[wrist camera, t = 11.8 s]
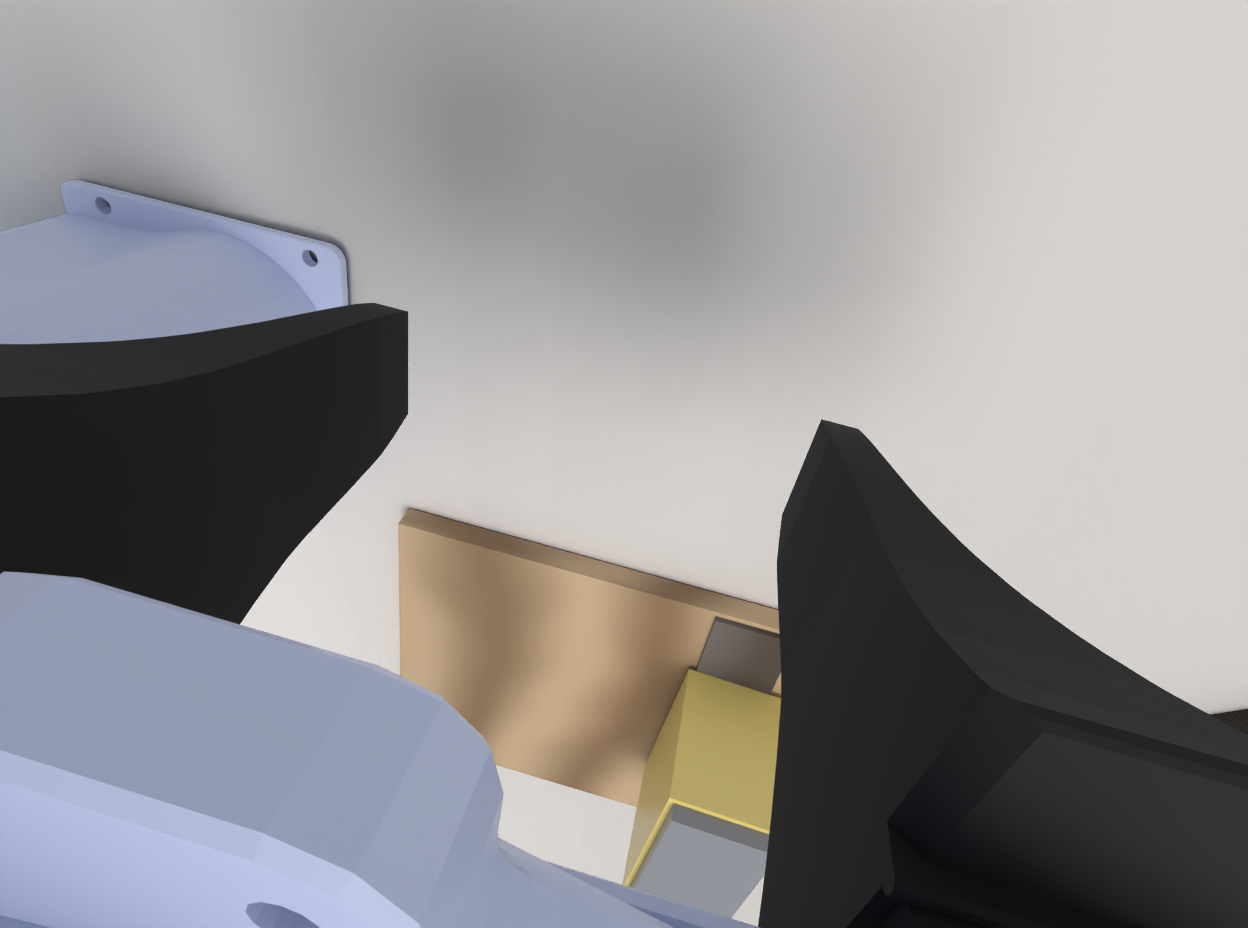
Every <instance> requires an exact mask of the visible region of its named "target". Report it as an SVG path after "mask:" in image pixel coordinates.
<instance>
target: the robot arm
mask: <svg viewBox="0 0 1248 928" xmlns="http://www.w3.org/2000/svg"><path fill="white" fill-rule="evenodd" d="M61 196H62V199H63V203H64V207H65V210H66V214H65V215H61V216H57V217H53V218H49V219H45V220H41V221H37V222H34V223H30V224H26V225H22V226H18V227H14V228H10V229H6V230H2V231H0V928H1248V735H1246V734H1244V733H1242V732H1240V731H1238V730H1237V729H1235V728H1233V727H1231V726H1229V725H1227V724H1226V723H1224V722H1222V721H1220V720H1218V719H1216V718H1215V717H1213V716H1211V715H1209V714H1207V713H1205V712H1204V711H1202V710H1200V709H1198V708H1196V707H1194V706H1192V705H1191V704H1189V703H1187V702H1185V701H1183V700H1181V699H1180V698H1178V697H1176V696H1174V695H1172V694H1170V693H1169V692H1167V691H1165V690H1163V689H1162V688H1160V687H1158V686H1157V685H1155V684H1153V683H1152V682H1150V681H1148V680H1147V679H1145V678H1144V677H1142V676H1140V675H1139V674H1137V673H1135V672H1134V671H1132V670H1131V669H1129V668H1127V667H1126V666H1124V665H1123V664H1121V663H1119V662H1118V661H1116V660H1114V659H1113V658H1111V657H1110V656H1108V655H1106V654H1105V653H1103V652H1102V651H1100V650H1099V649H1097V648H1096V647H1094V646H1093V645H1091V644H1090V643H1088V642H1087V641H1085V640H1084V639H1082V638H1081V637H1079V636H1078V635H1076V634H1075V633H1073V632H1072V631H1070V630H1069V629H1068V628H1066V627H1065V626H1064V625H1062V624H1061V623H1059V622H1058V621H1057V620H1055V619H1054V618H1052V617H1051V616H1050V615H1048V614H1047V613H1046V612H1044V611H1043V610H1041V609H1040V608H1039V607H1037V606H1036V605H1035V604H1033V603H1032V602H1031V601H1029V600H1028V599H1027V598H1025V597H1024V596H1023V595H1022V594H1020V593H1019V592H1018V591H1016V590H1015V589H1014V588H1013V587H1011V586H1010V585H1009V584H1008V583H1007V582H1005V581H1004V580H1003V579H1002V578H1001V577H1000V576H998V575H997V574H996V573H995V572H994V571H993V570H991V569H990V568H989V567H988V566H987V565H986V564H984V563H983V562H982V561H981V560H980V559H979V558H977V557H976V556H975V555H974V554H973V553H972V552H971V551H970V550H969V549H968V548H967V547H965V546H964V545H963V544H962V543H961V542H960V541H959V540H958V539H957V538H956V537H955V536H954V535H953V534H952V533H951V532H950V531H949V530H948V529H947V528H946V527H945V526H944V525H943V524H942V523H941V522H940V521H939V520H938V519H937V518H936V517H935V515H934V514H933V513H932V512H931V511H930V510H929V509H928V508H927V507H926V506H925V505H924V504H923V502H922V501H921V500H920V499H919V498H918V497H917V496H916V495H915V493H914V492H913V491H912V490H911V489H910V488H909V487H908V485H907V484H906V483H905V482H904V481H903V480H902V478H901V477H900V476H899V475H898V474H897V472H896V471H895V470H894V469H893V468H892V467H891V465H890V464H889V463H888V462H887V461H886V459H885V458H884V457H883V456H882V455H881V453H880V452H879V451H878V450H877V449H876V447H875V446H874V445H873V444H872V443H871V442H870V440H869V439H868V438H867V437H866V436H865V435H864V434H863V433H862V432H861V431H860V430H859V429H856V428H852V427H848V426H845V425H841V424H837V423H833V422H829V421H825V420H822V419H821V422H820V424H819V427H818V429H817V432H816V434H815V436H814V439H813V441H812V444H811V446H810V449H809V451H808V453H807V456H806V458H805V461H804V463H803V466H802V468H801V471H800V473H799V475H798V478H797V480H796V483H795V485H794V488H793V490H792V492H791V495H790V497H789V500H788V502H787V505H786V507H785V509H784V512H783V514H782V521H781V529H780V538H779V547H778V557H777V583H778V611H779V634H780V658H781V706H780V720H779V733H778V747H777V759H776V770H775V781H774V792H773V802H772V813H771V823H770V832H769V840H768V849H767V858H766V867H765V876H764V885H763V893H762V901H761V909H760V916H759V924H758V927H756V926H753V925H750V924H747V923H744V922H740V921H737V920H734V919H731V918H727V917H724V916H721V915H718V914H714V913H711V912H708V911H705V910H702V909H698V908H695V907H692V906H689V905H685V904H682V903H679V902H676V901H672V900H669V899H666V898H663V897H660V896H656V895H653V894H650V893H647V892H643V891H640V890H637V889H634V888H630V887H627V886H624V885H621V884H618V883H614V882H611V881H608V880H605V879H601V878H598V877H595V876H592V875H588V874H585V873H582V872H579V871H576V870H572V869H569V868H566V867H563V866H559V865H556V864H553V863H550V862H547V861H543V860H541V859H539V858H537V857H535V856H533V855H531V854H529V853H527V852H525V851H523V850H522V849H520V848H518V847H516V846H514V845H512V844H510V843H508V842H506V841H504V840H502V839H500V838H498V826H499V819H500V813H501V806H502V800H503V790H502V787H501V783H500V780H499V776H498V773H497V769H496V766H495V762H494V759H493V755H492V752H491V749H490V747H489V745H488V744H487V742H486V740H485V739H484V737H483V736H482V735H481V734H480V733H479V732H478V731H477V730H476V729H475V728H474V727H473V726H472V725H471V724H470V723H469V722H468V721H467V720H466V719H465V718H464V717H463V716H461V715H460V714H459V713H458V712H457V711H456V710H455V709H454V708H453V707H452V706H451V705H450V704H449V703H448V702H447V701H446V700H445V699H444V698H443V697H442V696H441V695H439V694H437V693H435V692H433V691H431V690H429V689H426V688H424V687H422V686H420V685H418V684H416V683H414V682H412V681H410V680H407V679H405V678H403V677H401V676H399V675H397V674H395V673H393V672H391V671H388V670H386V669H384V668H382V667H380V666H378V665H374V664H371V663H368V662H364V661H361V660H357V659H354V658H351V657H347V656H344V655H341V654H337V653H334V652H330V651H327V650H324V649H320V648H317V647H314V646H310V645H307V644H303V643H300V642H297V641H293V640H290V639H286V638H283V637H280V636H276V635H273V634H270V633H266V632H263V631H259V630H256V629H253V628H249V627H246V626H242V625H240V623H241V622H242V620H243V619H244V617H245V616H246V614H247V613H248V612H249V610H250V609H251V607H252V606H253V604H254V603H255V601H256V600H257V599H258V597H259V596H260V595H261V593H262V592H263V590H264V589H265V588H266V586H267V585H268V584H269V582H270V581H271V579H272V578H273V577H274V575H275V574H276V573H277V571H278V570H279V569H280V567H281V566H282V564H283V563H284V562H285V560H286V559H287V558H288V557H289V555H290V554H291V553H292V552H293V551H294V549H295V548H296V547H297V546H298V545H299V544H300V542H301V541H302V540H303V539H304V538H305V537H306V536H307V534H308V533H309V532H310V531H311V530H312V529H313V528H314V527H315V526H316V525H317V524H318V523H319V522H320V520H321V519H322V518H323V517H324V516H325V515H326V514H327V513H328V512H329V511H330V510H331V509H332V508H333V507H334V505H335V504H336V503H337V502H338V501H339V500H340V499H341V498H342V497H343V496H344V495H345V494H346V493H347V492H348V491H349V489H350V488H351V487H352V486H353V485H354V484H355V483H356V482H357V481H358V480H359V479H360V477H361V476H362V475H363V474H364V473H365V472H366V471H367V470H368V469H369V468H370V467H371V465H372V464H373V463H374V462H375V461H376V460H377V459H378V457H379V456H380V455H381V454H382V453H383V451H384V450H385V448H386V447H387V445H388V444H389V442H390V441H391V440H392V438H393V437H394V435H395V433H396V432H397V430H398V429H399V427H400V426H401V424H402V422H403V421H404V419H405V418H406V416H407V414H408V312H407V311H403V310H399V309H395V308H392V307H388V306H384V305H380V304H376V303H364V304H354V305H348V287H347V269H346V260H345V256H344V255H343V253H342V251H341V250H340V249H339V248H338V247H337V246H335V245H333V244H331V243H327V242H323V241H319V240H315V239H311V238H307V237H303V236H299V235H296V234H292V233H288V232H284V231H280V230H276V229H272V228H268V227H264V226H260V225H256V224H252V223H248V222H244V221H240V220H236V219H232V218H228V217H224V216H220V215H216V214H212V213H208V212H204V211H200V210H196V209H192V208H188V207H184V206H180V205H176V204H172V203H169V202H165V201H161V200H157V199H153V198H149V197H145V196H141V195H137V194H133V193H129V192H125V191H121V190H117V189H113V188H109V187H105V186H101V185H97V184H93V183H89V182H85V181H81V180H71V181H67V182H65V183H63V184H62V186H61ZM106 201H107V202H108V203H109V205H110V207H111V209H110V208H109V206H108V205H107V203H106ZM309 251H312V252H314V253H315V255H316V256H317V259H318V263H317V262H315V261H313V260H312V258H311V257H310V254H309Z"/></svg>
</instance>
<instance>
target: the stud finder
mask: <svg viewBox="0 0 1248 928" xmlns="http://www.w3.org/2000/svg"><path fill="white" fill-rule="evenodd" d="M780 706H781V698H778V697H774V696H771V695H768V694H765V693H762V692H759V691H756V690H753V689H750V688H747V687H743V686H740V685H737V684H734V683H731V682H728V681H725V680H722V679H719V678H716V677H713V676H709V675H706V674H703V673H700V672H697V671H694V670H691V669H689V670H688V672H687V674H686V676H685V678H684V681H683V683H682V685H681V687H680V689H679V692H678V694H677V696H676V698H675V700H674V703H673V705H672V707H671V709H670V711H669V713H668V716H667V718H666V720H665V722H664V724H663V727H662V729H661V731H660V733H659V735H658V738H657V740H656V742H655V744H654V746H653V749H652V751H651V753H650V755H649V757H648V760H647V762H646V764H645V768H644V773H643V778H642V784H641V789H640V794H639V799H638V805H637V810H636V815H635V821H634V826H633V831H632V836H631V842H630V847H629V852H628V857H627V863H626V868H625V873H624V879H623V884H622V885H624V886H627V887H630V888H634V889H637V890H640V891H643V892H647V893H650V894H653V895H656V896H660V897H663V898H666V899H669V900H672V901H676V902H679V903H682V904H685V905H689V906H692V907H695V908H698V909H702V910H705V911H708V912H711V913H714V914H718V915H721V916H724V917H727V918H732V916H733V915H734V914H735V913H736V911H737V910H738V909H739V907H740V906H741V905H742V903H743V902H744V901H745V900H746V898H747V897H748V896H749V894H750V893H751V892H752V891H753V889H754V888H755V887H756V885H757V884H758V883H759V881H760V880H761V879H762V878H763V876H764V875H765V867H766V858H767V849H768V840H769V832H770V823H771V813H772V802H773V792H774V781H775V770H776V759H777V747H778V733H779V720H780Z"/></svg>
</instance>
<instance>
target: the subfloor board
mask: <svg viewBox="0 0 1248 928" xmlns="http://www.w3.org/2000/svg"><path fill="white" fill-rule="evenodd" d="M398 537H399V608H400V676H401V677H403V678H405V679H407V680H410V681H412V682H414V683H416V684H418V685H420V686H422V687H424V688H426V689H429V690H431V691H433V692H435V693H437V694H439V695H441V696H442V697H443V698H444V699H445V700H446V701H447V702H448V703H449V704H450V705H451V706H452V707H453V708H454V709H455V710H456V711H457V712H458V713H459V714H460V715H461V716H463V717H464V718H465V719H466V720H467V721H468V722H469V723H470V724H471V725H472V726H473V727H474V728H475V729H476V730H477V731H478V732H479V733H480V734H481V735H482V736H483V737H484V739H485V740H486V742H487V744H488V745H489V747H490V749H491V752H492V755H493V759H494V762H495V765H498V766H502V767H505V768H508V769H512V770H515V771H518V772H522V773H525V774H528V775H532V776H535V777H538V778H542V779H545V780H548V781H552V782H555V783H558V784H562V785H565V786H568V787H572V788H575V789H578V790H582V791H585V792H588V793H592V794H595V795H598V796H602V797H605V798H608V799H612V800H615V801H618V802H622V803H625V804H628V805H632V806H635V807H637V805H638V799H639V794H640V789H641V784H642V778H643V773H644V768H645V764H646V762H647V760H648V757H649V755H650V753H651V751H652V749H653V746H654V744H655V742H656V740H657V738H658V735H659V733H660V731H661V729H662V727H663V724H664V722H665V720H666V718H667V716H668V713H669V711H670V709H671V707H672V705H673V703H674V700H675V698H676V696H677V694H678V692H679V689H680V687H681V685H682V683H683V681H684V678H685V676H686V674H687V672H688V670H689V669H691V670H694V671H697V672H700V673H703V674H706V675H709V676H713V677H716V678H719V679H722V680H725V681H728V682H731V683H734V684H737V685H740V686H743V687H747V688H750V689H753V690H756V691H759V692H762V693H765V694H768V695H771V696H774V697H778V698H781V658H780V634H779V611H778V610H776V609H773V608H769V607H765V606H762V605H758V604H754V603H751V602H747V601H744V600H740V599H736V598H733V597H729V596H725V595H722V594H718V593H715V592H711V591H707V590H704V589H700V588H697V587H693V586H689V585H686V584H682V583H678V582H675V581H671V580H668V579H664V578H660V577H657V576H653V575H650V574H646V573H642V572H639V571H635V570H631V569H628V568H624V567H621V566H617V565H613V564H610V563H606V562H602V561H599V560H595V559H592V558H588V557H584V556H581V555H577V554H574V553H570V552H566V551H563V550H559V549H555V548H552V547H548V546H545V545H541V544H537V543H534V542H530V541H527V540H523V539H519V538H516V537H512V536H508V535H505V534H501V533H498V532H494V531H490V530H487V529H483V528H479V527H476V526H472V525H469V524H465V523H461V522H458V521H454V520H451V519H447V518H443V517H440V516H436V515H432V514H429V513H425V512H422V511H418V510H414V509H411V508H410V509H409V511H408V512H407V513H406V515H405V516H404V517H403V518H402V520H401V521H400V522H399V523H398Z"/></svg>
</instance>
